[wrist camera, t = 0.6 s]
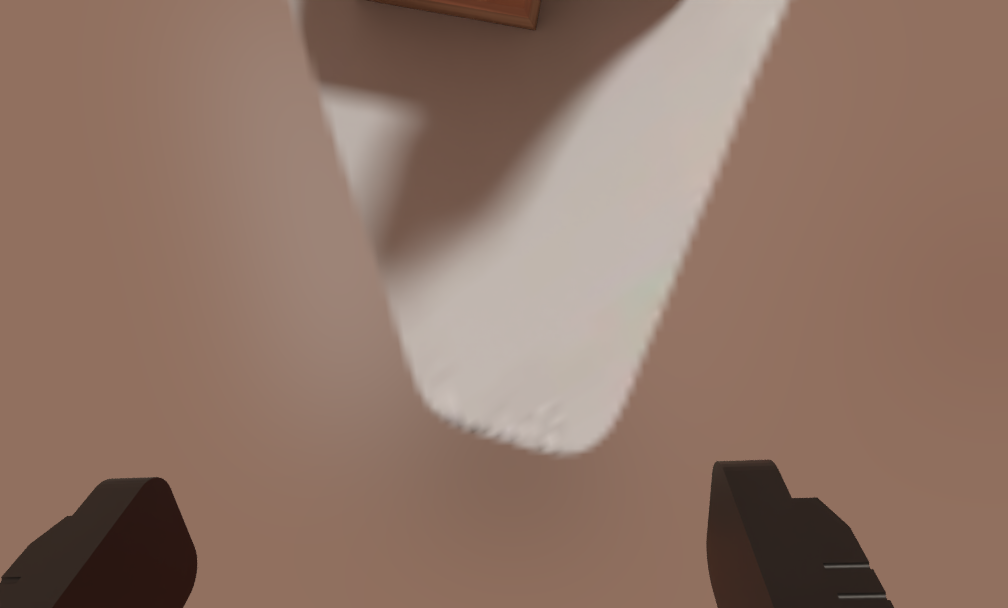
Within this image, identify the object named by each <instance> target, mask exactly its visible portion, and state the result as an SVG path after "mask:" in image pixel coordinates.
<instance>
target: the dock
mask: <svg viewBox="0 0 1008 608" xmlns="http://www.w3.org/2000/svg"><path fill="white" fill-rule="evenodd" d="M368 1H374V2H379V3H385V4H391V5H396V6H402V7H408V8H413V9H419V10H424V11H430V12H436V13H441V14H447V15H453V16H458V17H464V18H470V19H475V20H481V21H486V22H492V23H498V24H503V25H509V26H515V27H520V28H526V29H531V30H536V25H537V20H538V15H539V9H540V4H541V0H368Z"/></svg>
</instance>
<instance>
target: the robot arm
mask: <svg viewBox="0 0 1008 608" xmlns="http://www.w3.org/2000/svg"><path fill="white" fill-rule="evenodd" d="M707 561H708V569H709V575H710V580H711V585H712V588H713V592H714V596H715V599H716V603H717V607H718V608H894V607H893V605H892V603H891V601H890V600H887V598H886V592H885V590H884V589H883V587H882V585H881V583H880V581H879V579H878V577H877V576H876V574H875V572H874V570H873V569H870V567H869V561H868V559H867V558H866V556H865V554H864V552H863V550H862V548H861V547H860V545H859V543H858V541H857V539H856V538H855V536H854V534H853V532H852V530H851V528H850V527H849V526H848V525H847V524H846V523H845V522H844V521H842V520H841V519H840V518H839V517H838V516H837V515H836V514H835V513H834V512H833V511H831V510H830V509H829V508H828V507H827V506H826V505H825V504H824V503H823V502H821V501H820V500H819V499H818V498H791V495H790V494H789V491H788V489H787V487H786V485H785V483H784V481H783V479H782V477H781V474H780V473H779V470H778V469H777V467H776V465H775V463H774V462H773V461H771V460H748V461H717V462H716V463H715V464H714V467H713V472H712V483H711V494H710V506H709V518H708V530H707ZM196 573H197V555H196V550H195V547H194V544H193V542H192V540H191V537H190V535H189V532H188V530H187V527H186V525H185V523H184V520H183V518H182V515H181V513H180V510H179V508H178V505H177V503H176V501H175V498H174V496H173V493H172V491H171V488H170V486H169V485H168V483H167V482H166V481H165V480H164V479H162V478H158V477H153V478H120V479H107V480H105V481H103V482H101V483H100V484H99V485H98V486H97V487H96V488H95V489H94V490H93V491H92V493H91V494H90V495H89V496H88V497H87V499H86V500H85V501H84V502H83V504H82V505H81V506H80V507H79V508H78V510H77V511H76V512H75V513H74V514H73V515H72V516H67V517H65V518H64V519H63V520H61V521H60V522H59V523H58V524H56V525H55V526H53V527H52V528H51V529H50V530H48V531H47V532H46V533H44V534H43V535H42V536H40V537H39V538H37V539H36V540H35V541H34V542H32V543H31V544H30V545H29V546H28V547H27V548H26V549H25V550H24V552H23V553H22V554H21V555H20V556H19V557H18V558H17V560H16V561H15V562H14V563H13V564H12V565H11V567H10V568H9V569H8V570H7V571H6V573H5V574H4V575H3V576H2V577H1V578H2V581H1V583H0V608H183V606H184V605H185V603H186V601H187V599H188V597H189V595H190V593H191V591H192V588H193V586H194V582H195V578H196Z"/></svg>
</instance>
